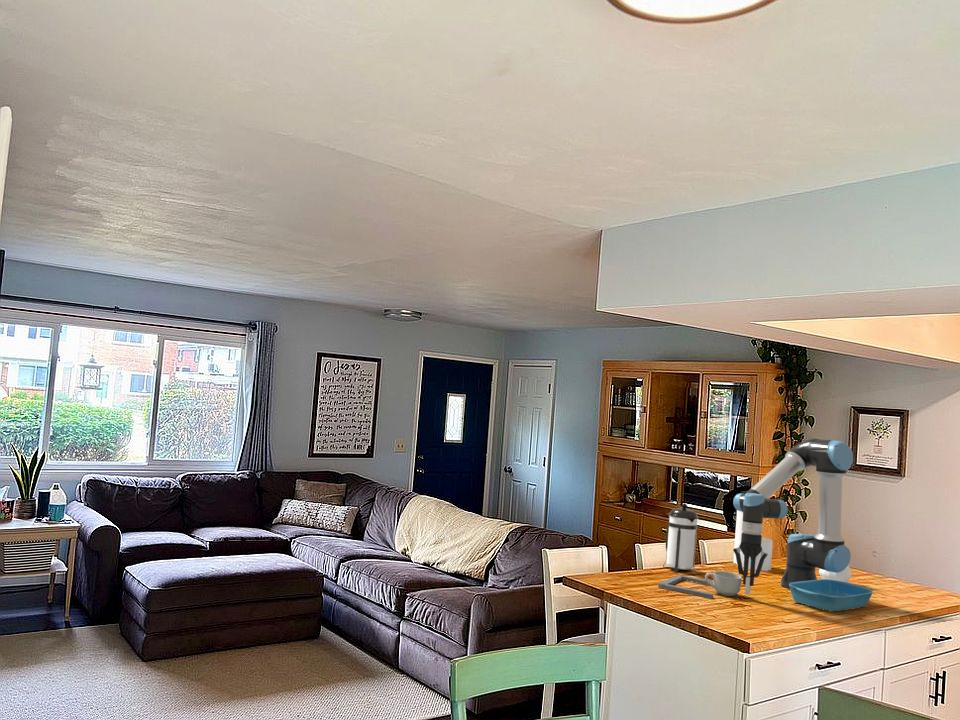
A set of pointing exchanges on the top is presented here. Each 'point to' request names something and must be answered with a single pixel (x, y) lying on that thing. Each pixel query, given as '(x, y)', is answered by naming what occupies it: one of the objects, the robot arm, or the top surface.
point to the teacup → (725, 582)
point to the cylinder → (765, 545)
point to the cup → (836, 575)
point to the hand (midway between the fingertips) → (747, 593)
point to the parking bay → (669, 585)
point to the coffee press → (681, 538)
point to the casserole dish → (830, 594)
